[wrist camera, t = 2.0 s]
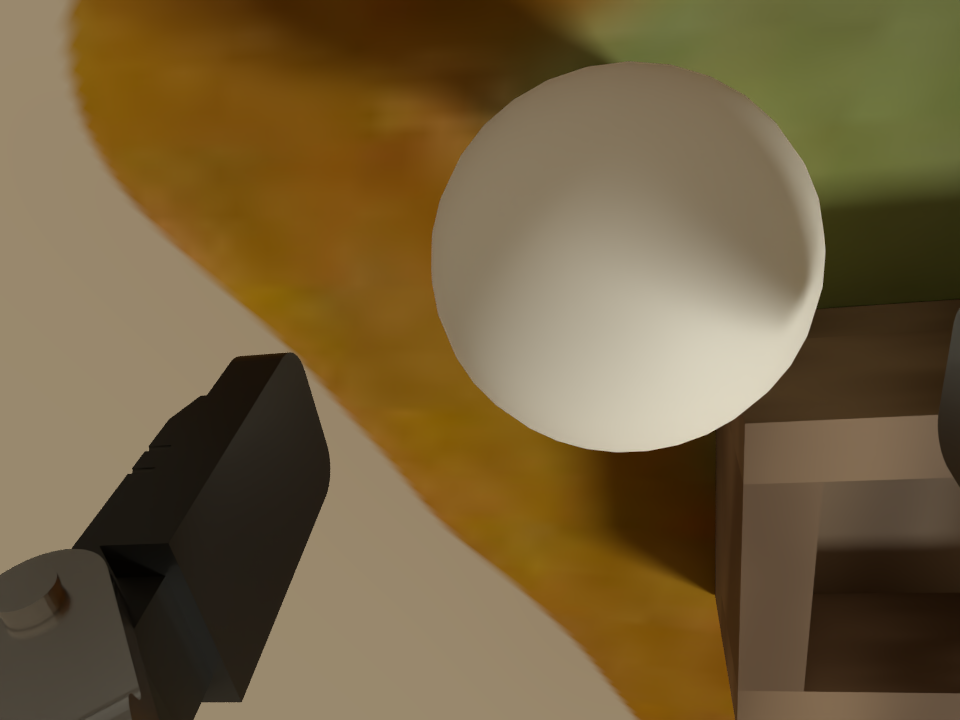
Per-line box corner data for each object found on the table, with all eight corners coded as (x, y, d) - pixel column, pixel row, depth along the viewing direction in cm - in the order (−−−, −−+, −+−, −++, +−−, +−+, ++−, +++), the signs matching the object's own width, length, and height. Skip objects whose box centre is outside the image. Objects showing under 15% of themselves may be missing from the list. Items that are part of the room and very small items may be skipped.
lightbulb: (794, 123, 19) (983, 370, 10) (605, 285, 22) (613, 594, 13) (619, -74, 17) (646, 0, 8) (437, 128, 20) (304, 354, 11)
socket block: (1172, 284, 20) (1326, 397, 16) (1071, 593, 26) (1165, 738, 21) (716, 315, 22) (745, 423, 18) (715, 596, 28) (737, 729, 23)
